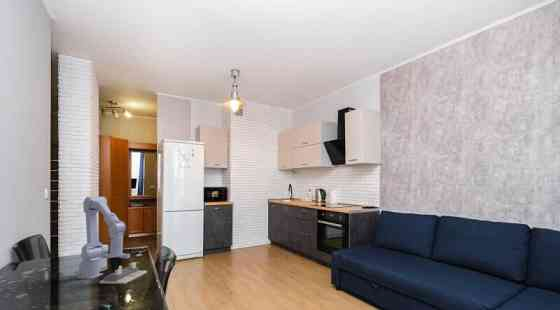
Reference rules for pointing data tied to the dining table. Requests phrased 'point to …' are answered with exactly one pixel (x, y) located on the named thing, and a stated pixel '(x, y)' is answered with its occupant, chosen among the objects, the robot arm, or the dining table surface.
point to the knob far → (132, 265)
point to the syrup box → (104, 259)
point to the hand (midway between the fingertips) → (115, 272)
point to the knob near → (118, 272)
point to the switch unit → (123, 276)
